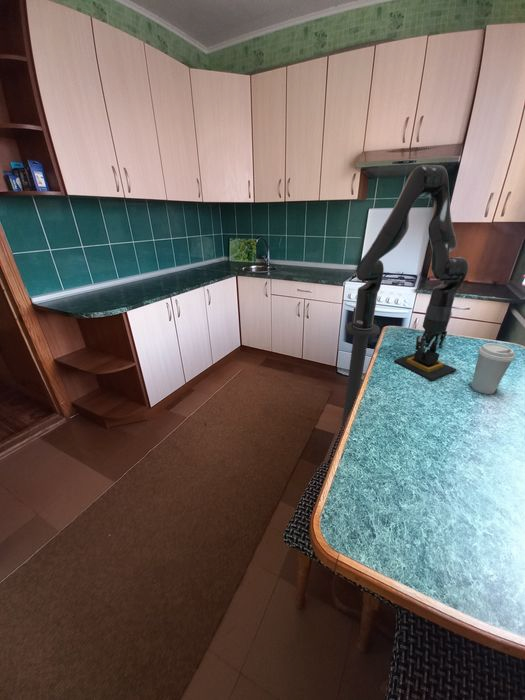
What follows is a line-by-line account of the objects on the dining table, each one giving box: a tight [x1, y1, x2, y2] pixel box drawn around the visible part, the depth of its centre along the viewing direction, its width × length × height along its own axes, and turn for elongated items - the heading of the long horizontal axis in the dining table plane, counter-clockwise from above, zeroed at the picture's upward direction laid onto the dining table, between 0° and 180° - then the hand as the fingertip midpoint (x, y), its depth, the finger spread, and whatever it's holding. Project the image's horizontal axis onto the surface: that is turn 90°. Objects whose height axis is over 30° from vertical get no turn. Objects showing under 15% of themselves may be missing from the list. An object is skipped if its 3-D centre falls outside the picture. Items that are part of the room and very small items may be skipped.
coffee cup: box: [470, 342, 516, 395], centre depth 94 cm, size 10×10×15 cm
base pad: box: [393, 352, 457, 382], centre depth 110 cm, size 16×14×2 cm
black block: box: [414, 347, 440, 365], centre depth 109 cm, size 6×6×3 cm
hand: (425, 358), depth 110 cm, fingers closed on black block, 5 cm apart
